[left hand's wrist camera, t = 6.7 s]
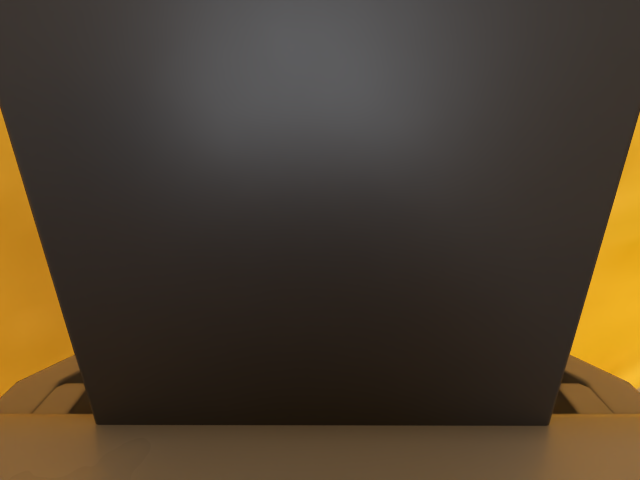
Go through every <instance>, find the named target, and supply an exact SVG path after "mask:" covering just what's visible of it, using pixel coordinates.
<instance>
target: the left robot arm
mask: <svg viewBox="0 0 640 480" xmlns="http://www.w3.org/2000/svg"><path fill="white" fill-rule="evenodd" d="M0 480H640V392H638V391H637V390H636V389H635V388H634V387H633V386H632V385H631V384H630V383H629V382H627V381H625V380H622V379H620V378H618V377H616V376H614V375H612V374H610V373H608V372H605V371H603V370H601V369H599V368H597V367H595V366H593V365H591V364H588V363H586V362H584V361H582V360H580V359H578V358H576V357H574V356H571V355H569V357H568V361H567V364H566V368H565V371H564V375H563V378H562V382H561V385H560V389H559V392H558V395H557V399H556V402H555V406H554V409H553V413H552V416H551V420H550V423H549V425H547V426H364V425H97V424H96V423H95V420H94V416H93V413H92V410H91V406H90V403H89V400H88V396H87V393H86V390H85V387H84V383H83V380H82V377H81V373H80V370H79V367H78V363H77V360H76V357H75V355H73V356H71V357H69V358H67V359H65V360H63V361H60V362H58V363H56V364H54V365H52V366H50V367H48V368H46V369H44V370H41V371H39V372H37V373H35V374H33V375H31V376H29V377H27V378H25V379H22V380H20V381H18V382H17V383H16V384H15V385H14V386H12V387H11V388H10V389H9V390H8V391H7V392H6V393H5V394H4V395H3V396H2V397H1V398H0Z"/></svg>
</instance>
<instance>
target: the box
mask: <svg viewBox="0 0 640 480" xmlns="http://www.w3.org/2000/svg"><path fill="white" fill-rule="evenodd" d="M0 108H1V111H2V114H3V118H4V121H5V124H6V128H7V131H8V134H9V138H10V141H11V144H12V148H13V151H14V154H15V158H16V161H17V164H18V167H19V171H20V174H21V177H22V181H23V184H24V187H25V191H26V194H27V197H28V201H29V204H30V207H31V211H32V214H33V217H34V221H35V224H36V227H37V231H38V234H39V237H40V240H41V244H42V247H43V250H44V254H45V257H46V260H47V264H48V267H49V270H50V274H51V277H52V280H53V284H54V287H55V290H56V294H57V297H58V300H59V304H60V307H61V310H62V314H63V317H64V320H65V323H66V327H67V330H68V333H69V337H70V340H71V343H72V347H73V350H74V353H75V357H76V360H77V363H78V367H79V370H80V373H81V377H82V380H83V383H84V387H85V390H86V393H87V396H88V400H89V403H90V406H91V410H92V413H93V416H94V420H95V423H96V424H97V425H364V426H547V425H549V423H550V420H551V416H552V413H553V409H554V406H555V402H556V399H557V395H558V392H559V389H560V385H561V382H562V378H563V375H564V371H565V368H566V364H567V361H568V357H569V354H570V351H571V347H572V344H573V340H574V337H575V333H576V330H577V326H578V323H579V319H580V316H581V313H582V309H583V306H584V302H585V299H586V295H587V292H588V288H589V285H590V281H591V278H592V275H593V271H594V268H595V264H596V261H597V257H598V254H599V250H600V247H601V243H602V240H603V237H604V233H605V230H606V226H607V223H608V219H609V216H610V212H611V209H612V205H613V202H614V199H615V195H616V192H617V188H618V185H619V181H620V178H621V174H622V171H623V167H624V164H625V161H626V157H627V154H628V150H629V147H630V143H631V140H632V136H633V133H634V129H635V126H636V123H637V119H638V116H639V112H640V0H0Z"/></svg>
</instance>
